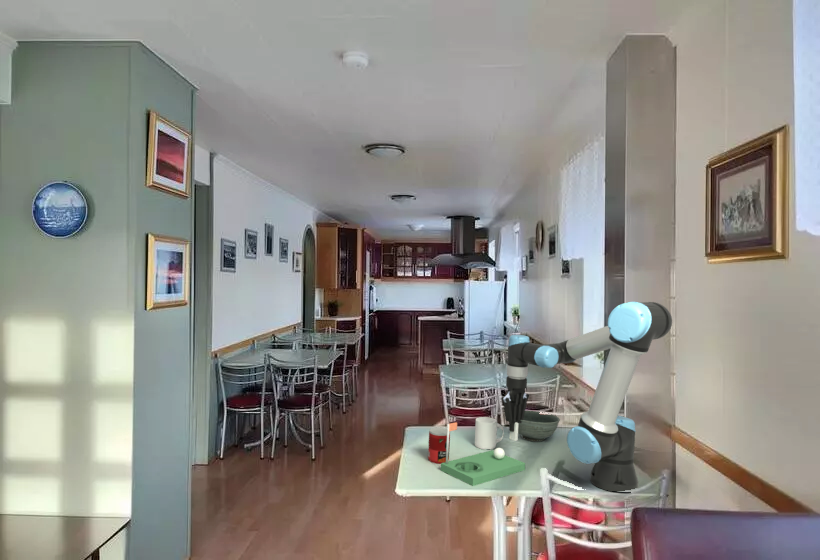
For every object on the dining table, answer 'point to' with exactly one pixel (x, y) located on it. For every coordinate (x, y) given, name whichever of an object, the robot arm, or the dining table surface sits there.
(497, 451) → the ball
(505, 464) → the putting mat
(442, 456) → the canned food
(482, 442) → the mug
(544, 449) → the dining table surface
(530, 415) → the bowl
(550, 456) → the dining table surface
